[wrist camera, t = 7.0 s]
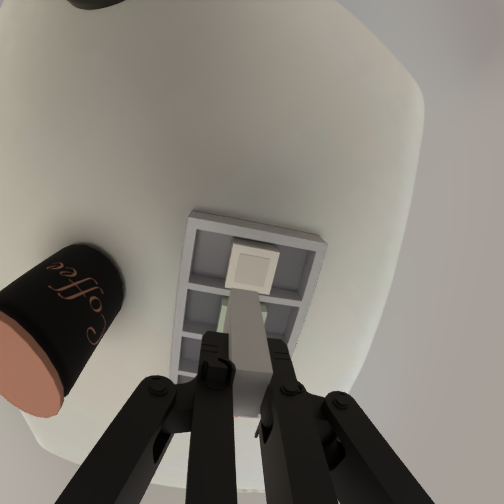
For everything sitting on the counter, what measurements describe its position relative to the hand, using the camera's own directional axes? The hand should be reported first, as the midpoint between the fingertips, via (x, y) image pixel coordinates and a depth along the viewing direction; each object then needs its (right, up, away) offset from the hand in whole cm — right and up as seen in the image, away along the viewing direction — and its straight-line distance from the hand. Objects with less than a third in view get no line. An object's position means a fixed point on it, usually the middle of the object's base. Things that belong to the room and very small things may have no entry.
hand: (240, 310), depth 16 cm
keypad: (-1, -6, +19) cm, 20 cm away
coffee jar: (-20, 0, +16) cm, 25 cm away
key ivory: (0, +2, +15) cm, 15 cm away
